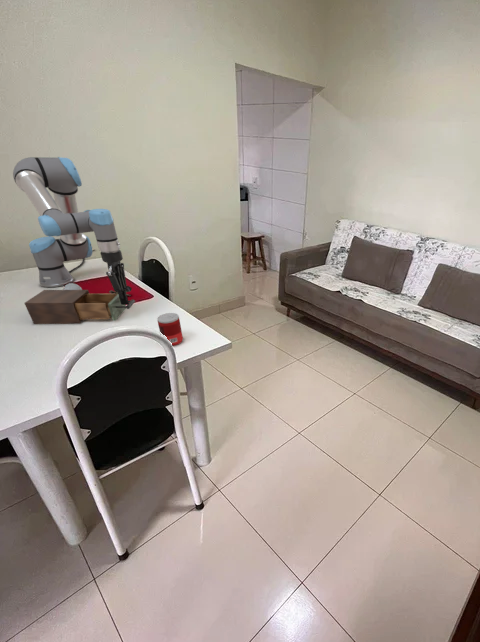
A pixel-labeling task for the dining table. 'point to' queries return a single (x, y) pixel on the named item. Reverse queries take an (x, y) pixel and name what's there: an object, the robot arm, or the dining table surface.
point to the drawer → (101, 306)
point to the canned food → (170, 327)
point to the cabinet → (55, 307)
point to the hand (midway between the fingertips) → (125, 303)
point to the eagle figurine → (125, 290)
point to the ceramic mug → (72, 287)
